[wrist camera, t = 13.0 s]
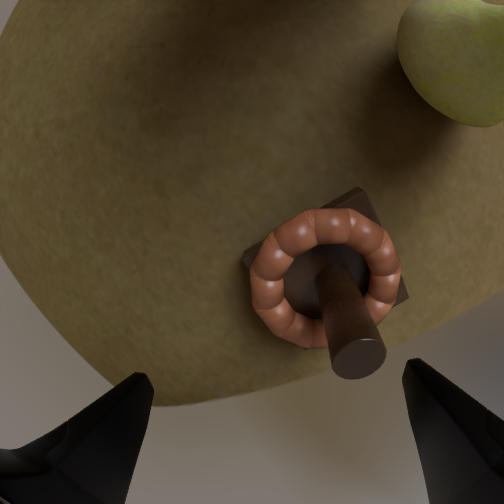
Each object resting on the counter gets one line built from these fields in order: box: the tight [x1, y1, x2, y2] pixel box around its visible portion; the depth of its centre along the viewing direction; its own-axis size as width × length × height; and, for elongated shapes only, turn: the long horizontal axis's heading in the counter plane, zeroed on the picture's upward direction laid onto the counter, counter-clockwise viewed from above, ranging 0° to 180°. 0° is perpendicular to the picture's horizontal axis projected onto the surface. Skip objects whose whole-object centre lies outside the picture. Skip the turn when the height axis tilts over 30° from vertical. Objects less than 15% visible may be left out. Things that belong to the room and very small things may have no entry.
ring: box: [250, 208, 401, 348], centre depth 13 cm, size 8×8×2 cm
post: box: [242, 187, 409, 379], centre depth 12 cm, size 7×7×7 cm
